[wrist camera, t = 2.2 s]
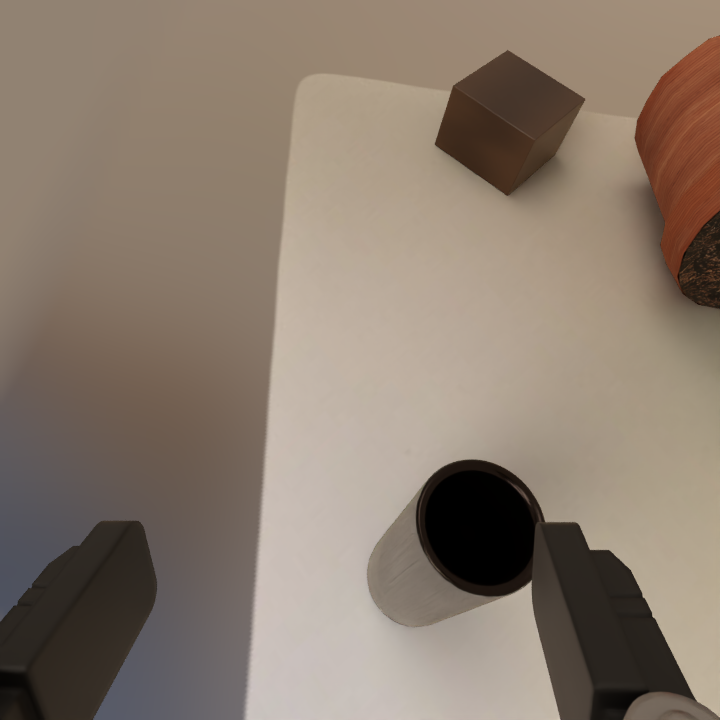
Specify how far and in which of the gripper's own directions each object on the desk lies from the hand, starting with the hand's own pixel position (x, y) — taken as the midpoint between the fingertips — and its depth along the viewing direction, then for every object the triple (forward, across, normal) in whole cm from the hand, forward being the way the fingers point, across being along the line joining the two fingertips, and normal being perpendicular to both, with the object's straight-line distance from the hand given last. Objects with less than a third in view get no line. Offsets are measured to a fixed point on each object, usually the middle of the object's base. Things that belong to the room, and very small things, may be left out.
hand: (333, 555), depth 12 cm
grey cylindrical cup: (+13, -1, +12) cm, 18 cm away
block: (+39, -8, -6) cm, 40 cm away
